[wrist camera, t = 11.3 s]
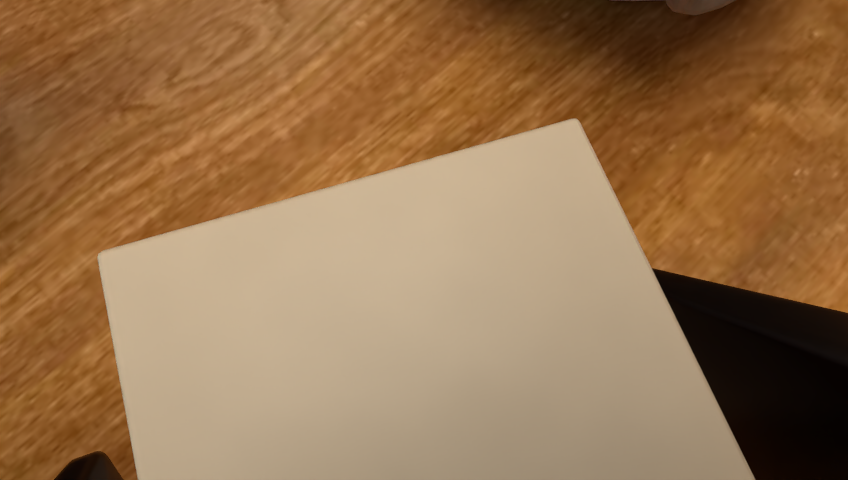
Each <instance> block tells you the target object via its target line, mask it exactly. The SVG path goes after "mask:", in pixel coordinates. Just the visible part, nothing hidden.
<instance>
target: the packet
mask: <svg viewBox="0 0 848 480" xmlns="http://www.w3.org/2000/svg"><path fill="white" fill-rule="evenodd" d="M98 264H99V269H100V275H101V280H102V286H103V291H104V297H105V302H106V308H107V313H108V319H109V324H110V329H111V335H112V340H113V346H114V351H115V357H116V362H117V368H118V373H119V379H120V384H121V390H122V395H123V401H124V406H125V412H126V417H127V423H128V428H129V433H130V439H131V444H132V450H133V455H134V461H135V466H136V472H137V477H138V480H755V478H754V476H753V474H752V472H751V470H750V468H749V466H748V464H747V462H746V460H745V458H744V456H743V454H742V452H741V450H740V447H739V445H738V443H737V441H736V439H735V437H734V435H733V433H732V431H731V429H730V427H729V425H728V423H727V421H726V419H725V417H724V415H723V413H722V411H721V409H720V407H719V405H718V403H717V401H716V399H715V397H714V395H713V392H712V390H711V388H710V386H709V384H708V382H707V380H706V378H705V376H704V374H703V372H702V370H701V368H700V366H699V364H698V362H697V360H696V358H695V356H694V354H693V352H692V350H691V348H690V346H689V344H688V342H687V340H686V337H685V335H684V333H683V331H682V329H681V327H680V325H679V323H678V321H677V319H676V317H675V315H674V313H673V311H672V309H671V307H670V305H669V303H668V301H667V299H666V297H665V295H664V293H663V291H662V289H661V287H660V285H659V282H658V280H657V278H656V276H655V274H654V272H653V270H652V268H651V266H650V264H649V262H648V260H647V258H646V256H645V254H644V252H643V250H642V248H641V246H640V244H639V242H638V240H637V238H636V236H635V234H634V232H633V230H632V227H631V225H630V223H629V221H628V219H627V217H626V215H625V213H624V211H623V209H622V207H621V205H620V203H619V201H618V199H617V197H616V195H615V193H614V191H613V189H612V187H611V185H610V183H609V181H608V179H607V177H606V175H605V172H604V170H603V168H602V166H601V164H600V162H599V160H598V158H597V156H596V154H595V152H594V150H593V148H592V146H591V144H590V142H589V140H588V138H587V136H586V134H585V132H584V130H583V128H582V126H581V124H580V122H579V121H578V120H577V119H570V120H566V121H563V122H559V123H555V124H552V125H548V126H545V127H541V128H538V129H534V130H531V131H527V132H523V133H520V134H516V135H513V136H509V137H506V138H502V139H499V140H495V141H491V142H488V143H484V144H481V145H477V146H474V147H470V148H467V149H463V150H460V151H456V152H452V153H449V154H445V155H442V156H438V157H435V158H431V159H428V160H424V161H420V162H417V163H413V164H410V165H406V166H403V167H399V168H396V169H392V170H388V171H385V172H381V173H378V174H374V175H371V176H367V177H364V178H360V179H356V180H353V181H349V182H346V183H342V184H339V185H335V186H332V187H328V188H324V189H321V190H317V191H314V192H310V193H307V194H303V195H300V196H296V197H292V198H289V199H285V200H282V201H278V202H275V203H271V204H268V205H264V206H260V207H257V208H253V209H250V210H246V211H243V212H239V213H236V214H232V215H229V216H225V217H221V218H218V219H214V220H211V221H207V222H204V223H200V224H197V225H193V226H189V227H186V228H182V229H179V230H175V231H172V232H168V233H165V234H161V235H157V236H154V237H150V238H147V239H143V240H140V241H136V242H133V243H129V244H125V245H122V246H118V247H115V248H111V249H108V250H104V251H102V252H100V253H99V254H98Z"/></svg>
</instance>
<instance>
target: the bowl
mask: <svg viewBox="0 0 848 480" xmlns="http://www.w3.org/2000/svg"><path fill="white" fill-rule="evenodd" d="M611 1H666V5H667V6H668V7H669V8H670V9H671V10H672V11H673V12H677V13H682V14H688V15H694V16H695V15H699V14H702V13H706V12H709V11H713V10H716V9H719V8H722V7H724V6H726V5H728V4H730V3H732V2H734V1H736V0H611Z"/></svg>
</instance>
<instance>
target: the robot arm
mask: <svg viewBox="0 0 848 480" xmlns="http://www.w3.org/2000/svg"><path fill="white" fill-rule="evenodd" d="M652 270H653V272H654V274H655V276H656V278H657V280H658V282H659V285H660V287H661V289H662V291H663V293H664V295H665V297H666V299H667V301H668V303H669V305H670V307H671V309H672V311H673V313H674V315H675V317H676V319H677V321H678V323H679V325H680V327H681V329H682V331H683V333H684V335H685V337H686V340H687V342H688V344H689V346H690V348H691V350H692V352H693V354H694V356H695V358H696V360H697V362H698V364H699V366H700V368H701V370H702V372H703V374H704V376H705V378H706V380H707V382H708V384H709V386H710V388H711V390H712V392H713V395H714V397H715V399H716V401H717V403H718V405H719V407H720V409H721V411H722V413H723V415H724V417H725V419H726V421H727V423H728V425H729V427H730V429H731V431H732V433H733V435H734V437H735V439H736V441H737V443H738V445H739V447H740V450H741V452H742V454H743V456H744V458H745V460H746V462H747V464H748V466H749V468H750V470H751V472H752V474H753V476H754V478H755V480H848V313H845V312H841V311H836V310H832V309H828V308H823V307H819V306H814V305H810V304H806V303H801V302H797V301H793V300H788V299H784V298H779V297H775V296H771V295H766V294H762V293H758V292H753V291H749V290H744V289H740V288H736V287H731V286H727V285H723V284H718V283H714V282H710V281H705V280H701V279H696V278H692V277H688V276H683V275H679V274H675V273H670V272H666V271H661V270H657V269H653V268H652ZM54 480H123V478H122V477H121V475H120V474H119V472H118V471H117V469H116V468H115V466H114V465H113V463H112V462H111V460H110V459H109V457H108V456H107V455H106V454H105V453H103V452H101V451H96V452H93V453H90V454H87V455H84V456H82V457H79V458H76V459H74V460H72V461H71V462H70V463H69V464H68V465H67V466H66V467H65V468H64V469H63V470H62V471H61V472H60V473H59V475H58V476H57V477H56V478H55V479H54Z"/></svg>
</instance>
